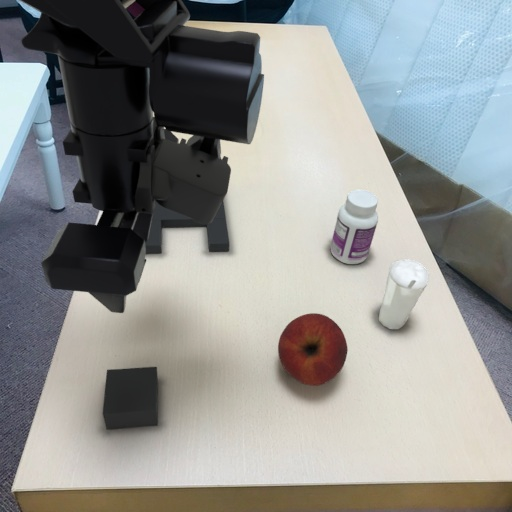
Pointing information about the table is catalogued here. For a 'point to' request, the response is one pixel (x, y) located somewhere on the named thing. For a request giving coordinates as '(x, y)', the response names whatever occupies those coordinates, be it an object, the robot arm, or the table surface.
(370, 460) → the table surface
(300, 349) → the apple
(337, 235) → the pill bottle
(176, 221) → the base pad
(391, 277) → the milkshake
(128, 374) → the black block
